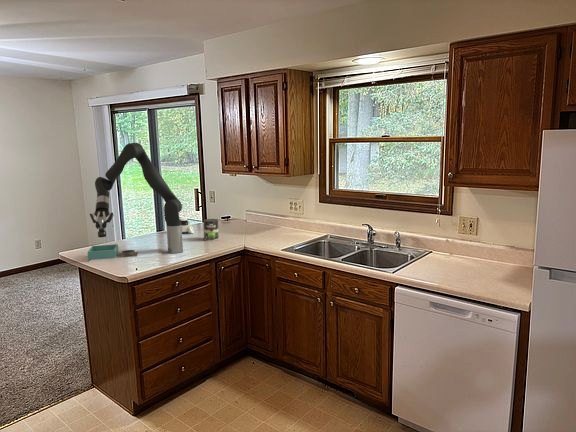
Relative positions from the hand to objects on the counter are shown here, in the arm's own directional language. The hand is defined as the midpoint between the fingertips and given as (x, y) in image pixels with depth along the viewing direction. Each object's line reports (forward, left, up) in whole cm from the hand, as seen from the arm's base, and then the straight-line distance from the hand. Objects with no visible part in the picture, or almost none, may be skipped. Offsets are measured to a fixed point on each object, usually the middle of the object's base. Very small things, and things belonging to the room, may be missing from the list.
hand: (100, 227), depth 255 cm
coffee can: (-67, -32, -19) cm, 77 cm away
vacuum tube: (0, -2, -6) cm, 6 cm away
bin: (0, -2, -19) cm, 19 cm away
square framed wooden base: (-14, 0, -19) cm, 23 cm away
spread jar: (-50, -59, -19) cm, 80 cm away
